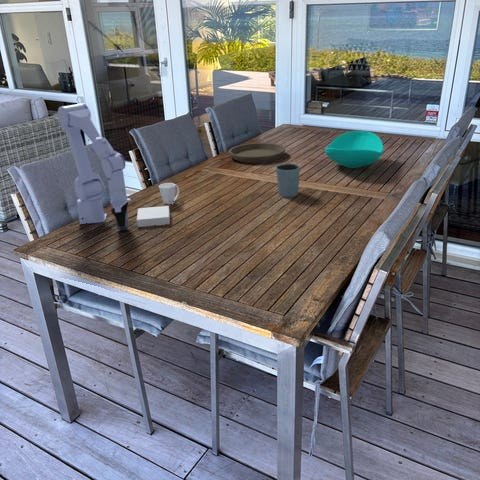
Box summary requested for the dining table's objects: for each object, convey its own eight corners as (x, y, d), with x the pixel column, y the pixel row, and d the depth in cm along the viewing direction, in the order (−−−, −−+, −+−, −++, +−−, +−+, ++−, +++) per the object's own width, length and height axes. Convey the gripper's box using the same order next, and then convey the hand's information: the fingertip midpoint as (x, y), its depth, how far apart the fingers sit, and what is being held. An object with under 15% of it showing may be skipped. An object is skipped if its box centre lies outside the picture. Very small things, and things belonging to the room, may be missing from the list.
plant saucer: (220, 155, 270) (220, 147, 268) (268, 147, 281) (268, 139, 279) (244, 168, 244) (243, 159, 242) (296, 159, 255) (296, 150, 254)
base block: (137, 227, 179) (136, 219, 178) (139, 215, 190) (138, 208, 189) (169, 224, 181) (169, 216, 179) (169, 212, 191) (168, 205, 190)
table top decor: (376, 180, 217) (378, 151, 212) (316, 175, 227) (317, 148, 221) (386, 157, 250) (388, 132, 245) (333, 154, 260) (334, 129, 254)
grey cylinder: (116, 230, 174) (114, 215, 172) (117, 225, 178) (115, 210, 176) (129, 229, 175) (126, 214, 172) (129, 224, 179) (127, 209, 176)
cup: (157, 204, 201) (155, 186, 197) (173, 197, 208) (171, 179, 204) (169, 207, 197) (167, 189, 193) (185, 200, 204) (183, 182, 201)
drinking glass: (298, 197, 201) (298, 170, 196) (274, 197, 203) (274, 169, 198) (300, 190, 210) (300, 163, 205) (277, 189, 212) (277, 163, 207)
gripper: (127, 194, 164) (132, 230, 170) (129, 181, 177) (134, 215, 183) (106, 195, 163) (112, 232, 169) (110, 182, 176) (115, 216, 182)
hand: (122, 223), depth 176 cm, fingers closed on grey cylinder, 4 cm apart
